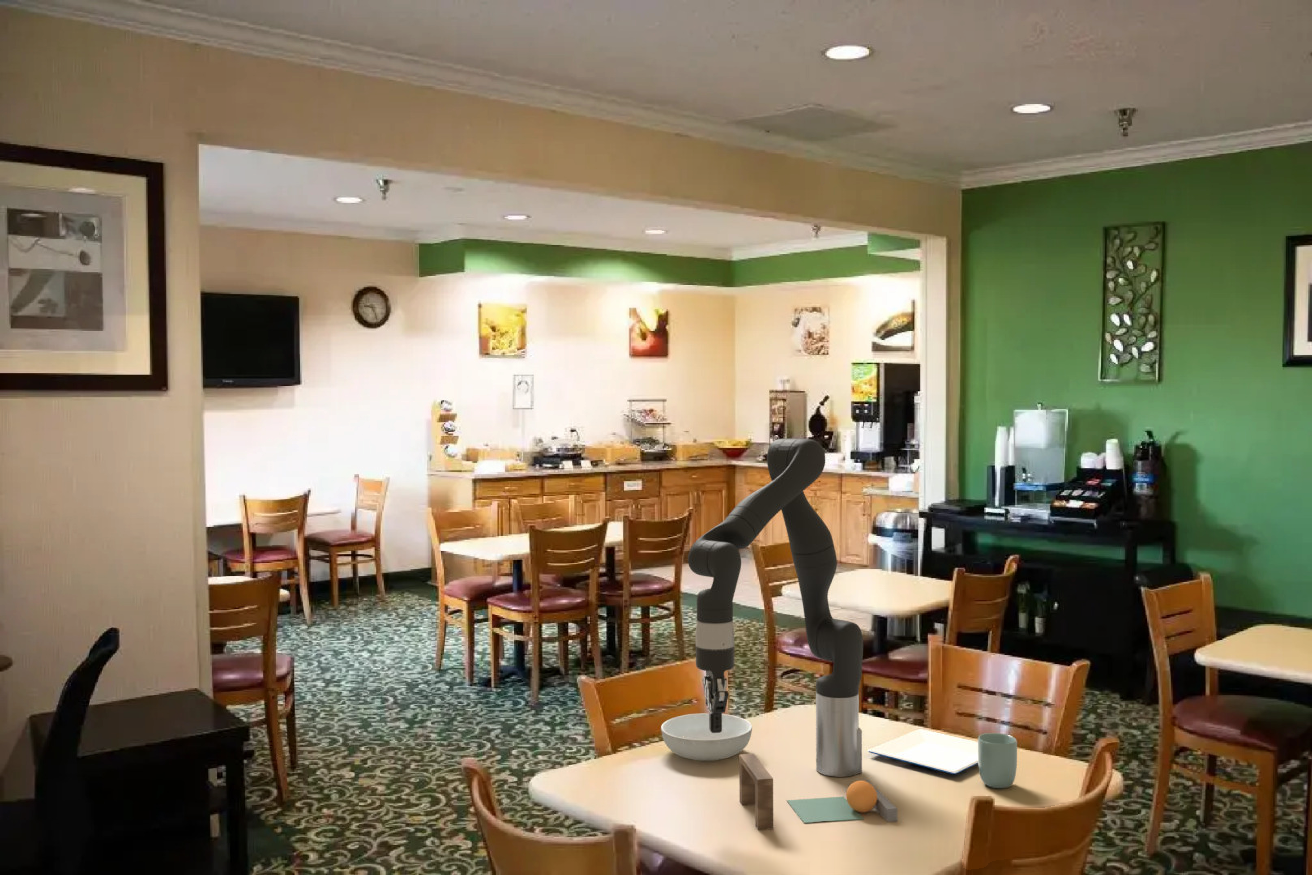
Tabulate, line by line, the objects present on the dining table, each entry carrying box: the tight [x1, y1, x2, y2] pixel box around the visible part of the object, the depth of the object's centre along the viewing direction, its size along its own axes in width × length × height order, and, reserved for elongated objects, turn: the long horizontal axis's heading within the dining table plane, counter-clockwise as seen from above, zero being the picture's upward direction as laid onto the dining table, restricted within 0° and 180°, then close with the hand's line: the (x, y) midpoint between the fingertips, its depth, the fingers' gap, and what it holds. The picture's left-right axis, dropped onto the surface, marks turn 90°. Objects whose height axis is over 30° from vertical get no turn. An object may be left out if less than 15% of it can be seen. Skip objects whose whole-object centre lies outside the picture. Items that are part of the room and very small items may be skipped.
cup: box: [977, 732, 1018, 789], centre depth 234 cm, size 8×8×10 cm
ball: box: [845, 780, 877, 813], centre depth 220 cm, size 6×6×6 cm
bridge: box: [738, 753, 774, 831], centre depth 218 cm, size 3×15×10 cm, turn 9°
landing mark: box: [786, 796, 865, 824], centre depth 220 cm, size 12×12×1 cm
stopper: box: [863, 779, 898, 823], centre depth 222 cm, size 2×16×2 cm, turn 9°
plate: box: [867, 728, 978, 775], centre depth 253 cm, size 22×22×2 cm
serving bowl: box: [660, 712, 753, 762], centre depth 255 cm, size 21×21×7 cm
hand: (715, 731), depth 216 cm, fingers closed
